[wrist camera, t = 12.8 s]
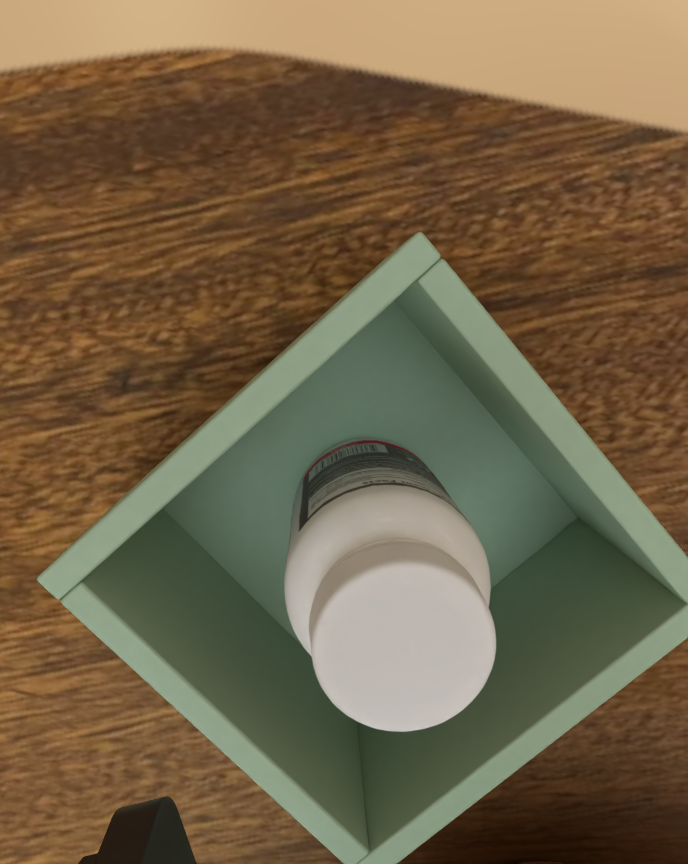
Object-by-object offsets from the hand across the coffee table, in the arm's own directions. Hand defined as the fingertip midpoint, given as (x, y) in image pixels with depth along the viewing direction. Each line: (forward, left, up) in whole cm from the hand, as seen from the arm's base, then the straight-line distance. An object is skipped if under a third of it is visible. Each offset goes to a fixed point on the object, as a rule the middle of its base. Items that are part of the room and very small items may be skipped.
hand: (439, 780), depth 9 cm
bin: (0, 0, -14) cm, 14 cm away
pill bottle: (0, 0, -14) cm, 14 cm away
